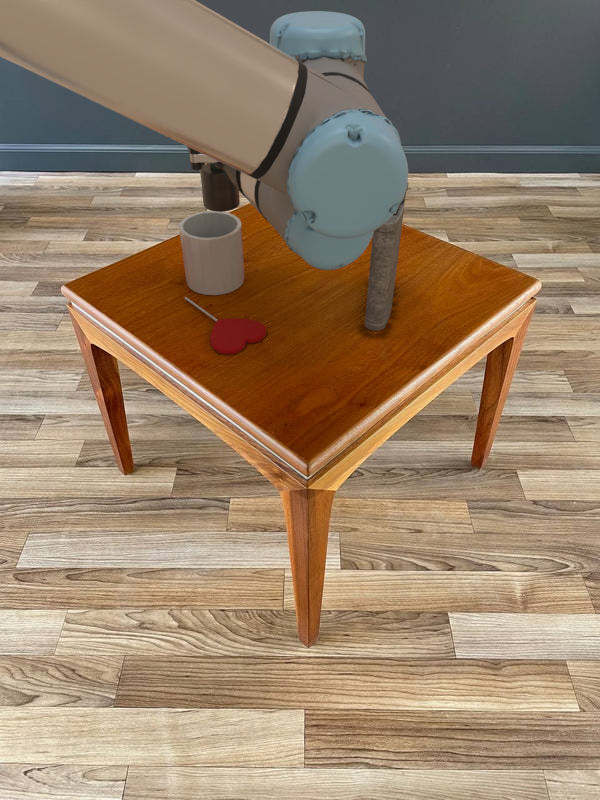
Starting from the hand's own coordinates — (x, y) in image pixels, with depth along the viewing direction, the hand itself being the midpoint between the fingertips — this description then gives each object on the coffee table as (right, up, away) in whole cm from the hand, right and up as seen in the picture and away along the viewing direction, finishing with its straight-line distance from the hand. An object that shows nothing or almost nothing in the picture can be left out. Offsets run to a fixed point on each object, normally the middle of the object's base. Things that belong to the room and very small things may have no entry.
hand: (200, 104), depth 81 cm
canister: (0, -19, +16) cm, 25 cm away
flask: (+24, -24, +11) cm, 36 cm away
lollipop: (+1, -27, +8) cm, 28 cm away
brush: (+2, -12, +4) cm, 12 cm away
